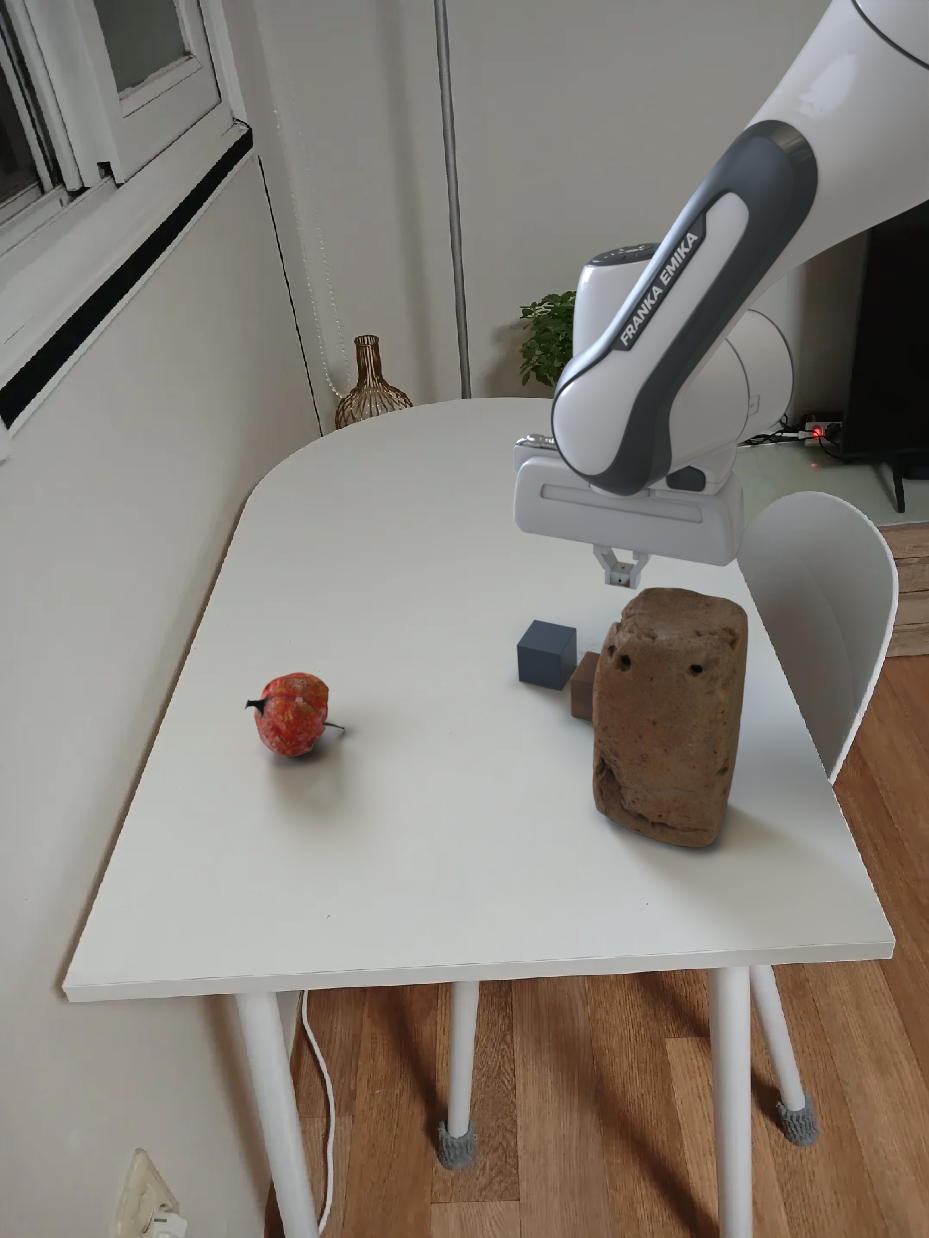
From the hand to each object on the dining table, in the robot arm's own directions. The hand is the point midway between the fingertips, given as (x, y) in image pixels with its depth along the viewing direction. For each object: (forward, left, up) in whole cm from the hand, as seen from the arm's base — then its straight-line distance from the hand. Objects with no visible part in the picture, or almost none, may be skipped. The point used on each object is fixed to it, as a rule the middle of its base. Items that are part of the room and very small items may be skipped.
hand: (622, 584), depth 88 cm
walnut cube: (0, +6, -10) cm, 12 cm away
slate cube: (+6, +3, -10) cm, 12 cm away
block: (-9, +17, -10) cm, 22 cm away
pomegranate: (+24, +20, -10) cm, 33 cm away
